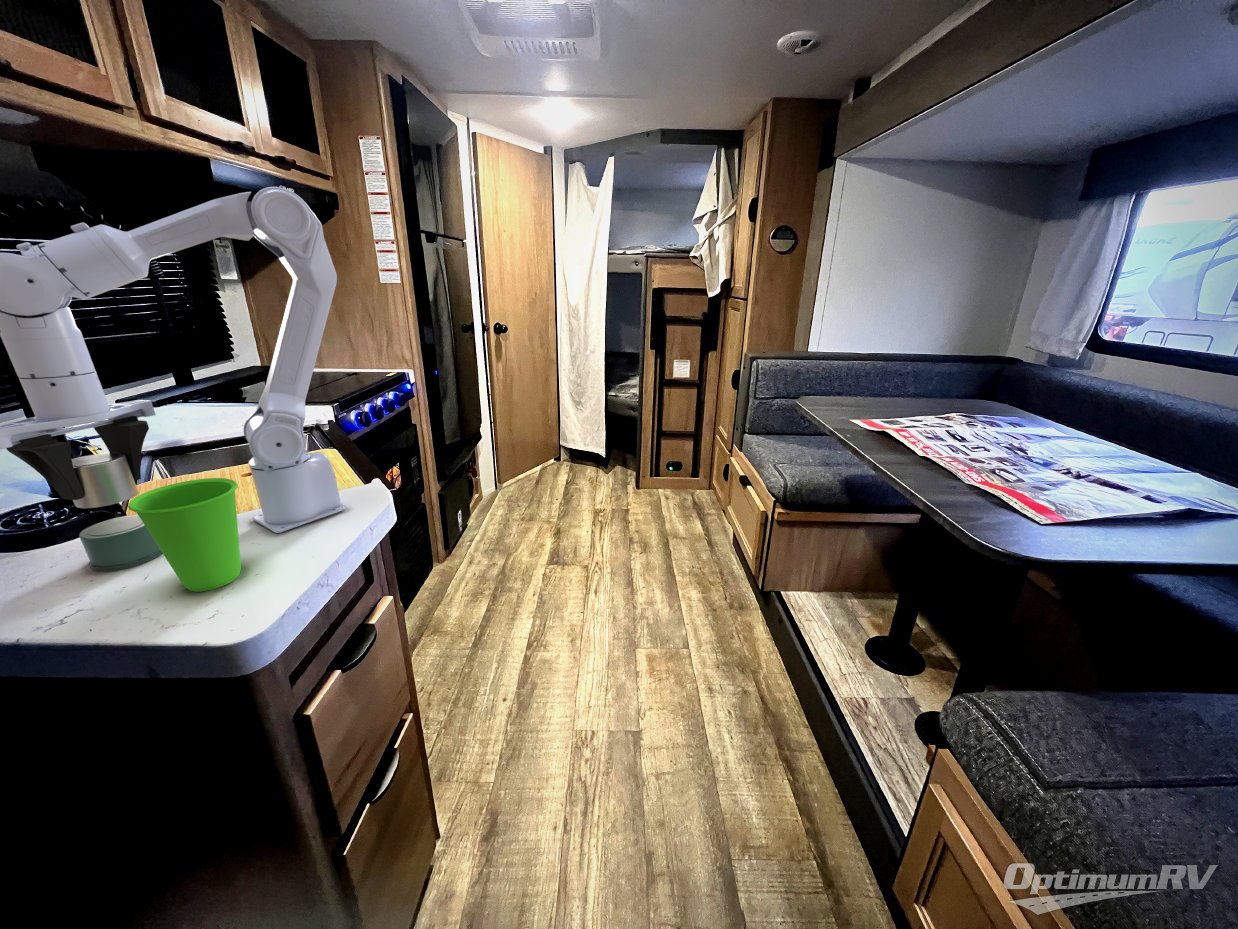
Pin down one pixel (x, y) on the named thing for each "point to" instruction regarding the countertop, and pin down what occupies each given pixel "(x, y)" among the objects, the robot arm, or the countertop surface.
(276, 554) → the countertop surface
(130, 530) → the green round puck
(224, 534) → the cup
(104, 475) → the steel cup
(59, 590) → the countertop surface
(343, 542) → the countertop surface
